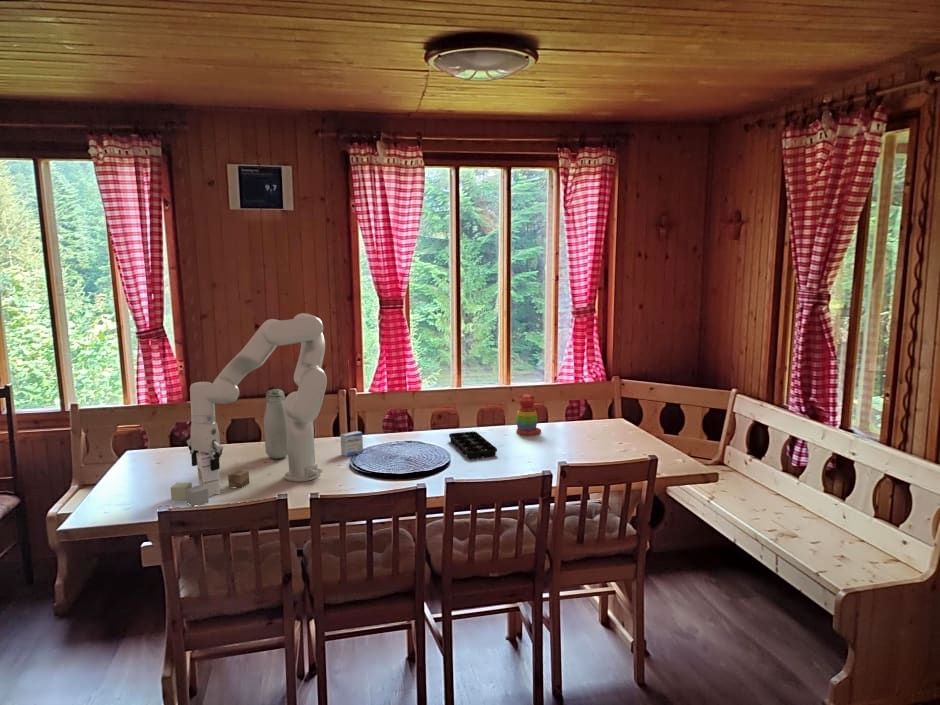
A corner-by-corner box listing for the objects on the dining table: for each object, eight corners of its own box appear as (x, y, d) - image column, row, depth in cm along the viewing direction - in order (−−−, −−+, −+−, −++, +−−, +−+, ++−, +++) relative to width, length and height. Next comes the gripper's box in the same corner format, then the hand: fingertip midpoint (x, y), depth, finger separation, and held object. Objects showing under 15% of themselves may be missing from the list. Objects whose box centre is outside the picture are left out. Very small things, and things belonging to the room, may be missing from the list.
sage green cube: (192, 496, 228) (191, 482, 227) (186, 501, 223) (185, 487, 222) (178, 496, 228) (177, 482, 227) (171, 501, 223) (170, 487, 222)
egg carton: (472, 437, 294) (472, 429, 293) (509, 455, 268) (509, 446, 267) (436, 444, 285) (436, 435, 285) (472, 462, 259) (471, 453, 259)
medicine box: (346, 457, 268) (345, 436, 267) (340, 454, 271) (339, 433, 270) (363, 452, 273) (362, 432, 272) (357, 450, 276) (356, 430, 275)
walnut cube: (249, 484, 239) (248, 470, 238) (241, 489, 234) (240, 475, 233) (237, 483, 240) (236, 469, 239) (228, 487, 235) (227, 474, 235)
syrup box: (221, 493, 229) (218, 453, 227) (203, 497, 226) (199, 456, 224) (216, 489, 234) (213, 449, 232) (199, 492, 231) (195, 452, 228)
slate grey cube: (208, 502, 222) (207, 488, 221) (194, 507, 218) (193, 492, 217) (201, 499, 225) (200, 485, 224) (186, 503, 221) (185, 489, 220)
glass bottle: (267, 463, 262) (263, 393, 258) (264, 455, 271) (259, 388, 267) (293, 459, 266) (289, 390, 262) (289, 452, 275) (285, 385, 271)
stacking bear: (542, 431, 300) (542, 392, 297) (535, 437, 291) (535, 397, 288) (519, 429, 305) (519, 391, 302) (511, 435, 295) (511, 395, 293)
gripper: (229, 419, 225) (231, 468, 227) (196, 413, 233) (198, 460, 236) (211, 424, 218) (213, 474, 221) (177, 417, 227) (179, 466, 229)
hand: (205, 467), depth 228 cm, fingers open, 9 cm apart
